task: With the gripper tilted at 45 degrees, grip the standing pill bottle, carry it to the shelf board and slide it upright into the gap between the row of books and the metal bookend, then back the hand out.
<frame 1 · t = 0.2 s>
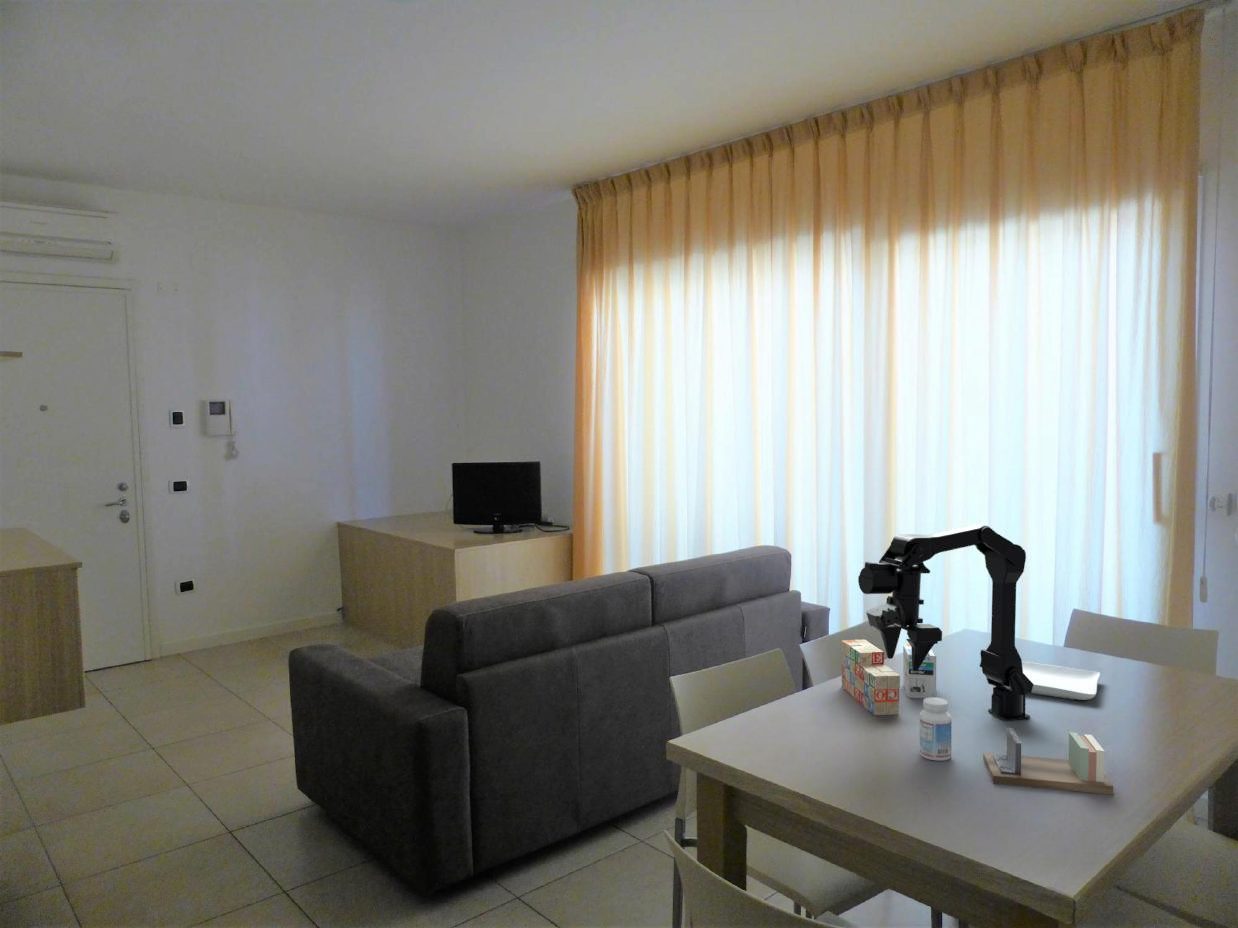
hand: (902, 664, 183), 14 cm above the table, tool pointing down, fingers open, 9 cm apart
light bulb box: (918, 692, 209), on the table
pill bottle: (935, 756, 169), on the table
shelf board: (1044, 776, 159), on the table
salad plate: (1049, 688, 212), on the table
bookend: (1006, 749, 160), on the shelf board, point 4 cm above the table
stack of blocks: (868, 701, 203), on the table
row of books: (1086, 756, 157), on the shelf board, point 4 cm above the table
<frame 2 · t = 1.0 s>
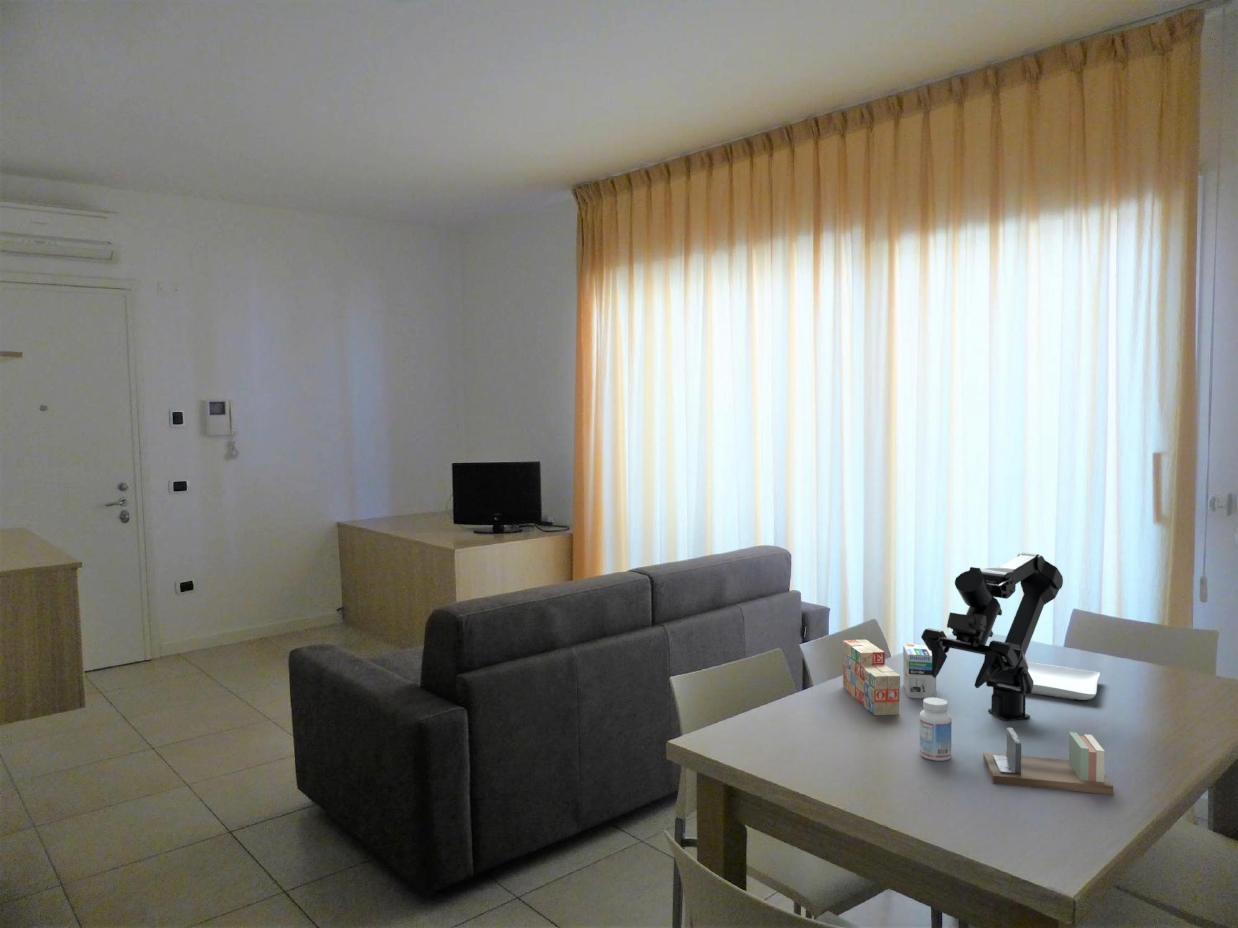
hand: (954, 681, 174), 13 cm above the table, tool tilted 45°, fingers open, 9 cm apart
nothing on the table moved.
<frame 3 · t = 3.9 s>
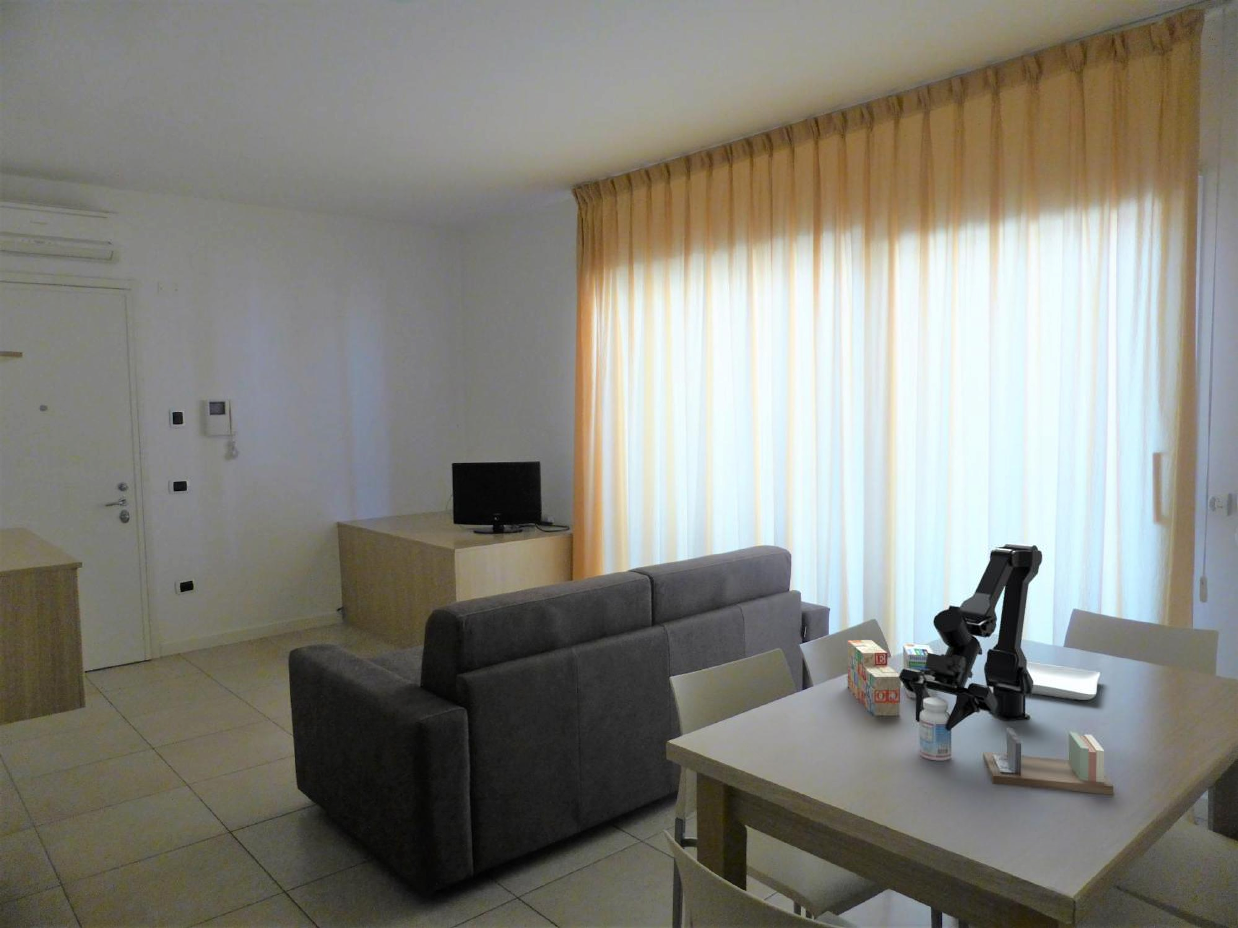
hand: (931, 725, 168), 7 cm above the table, tool tilted 45°, fingers closed on pill bottle, 6 cm apart
pill bottle: (935, 756, 169), on the table, touching gripper
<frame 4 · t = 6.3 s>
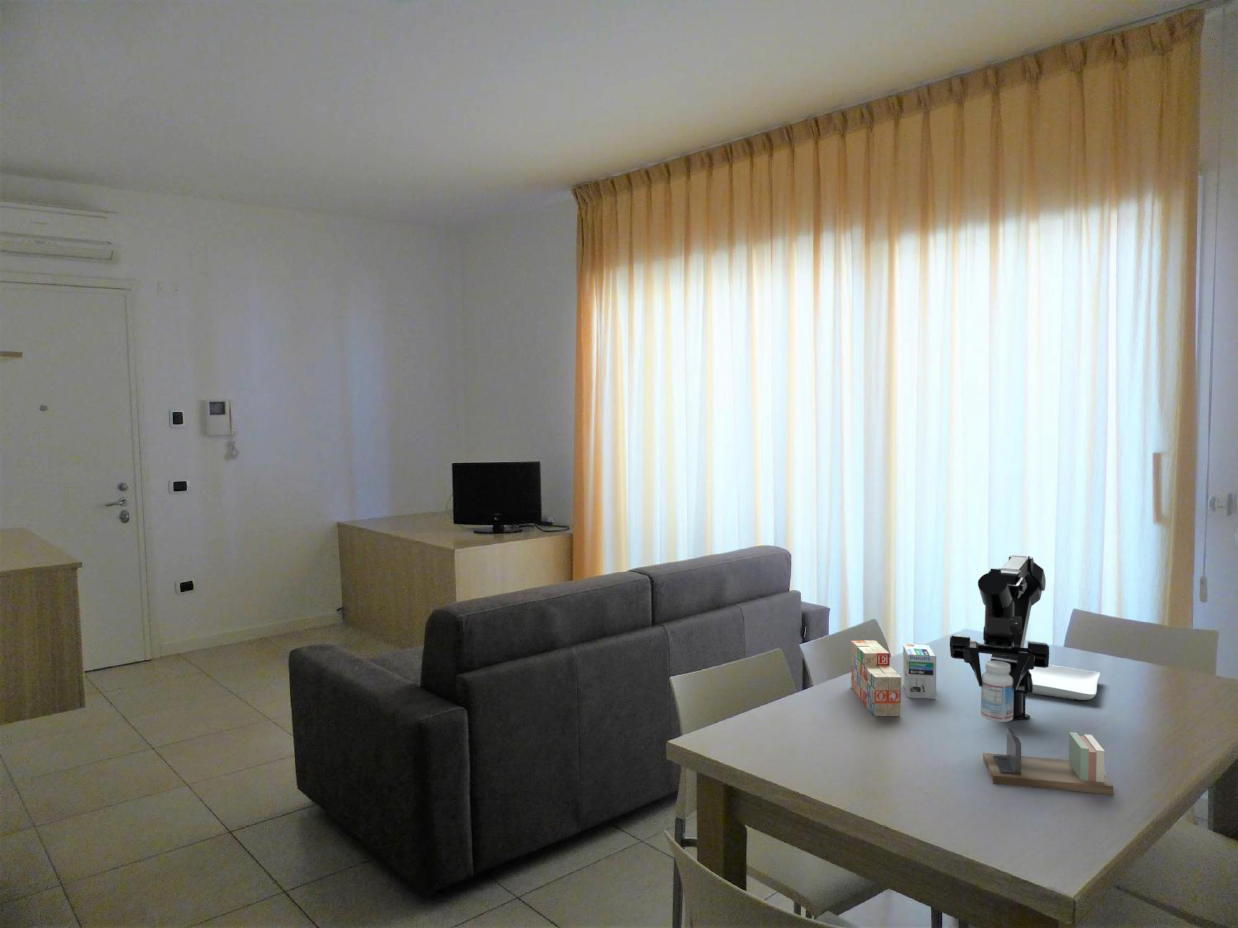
hand: (997, 687, 170), 13 cm above the table, tool tilted 45°, fingers closed on pill bottle, 6 cm apart
pill bottle: (996, 718, 172), point 6 cm above the table, touching gripper
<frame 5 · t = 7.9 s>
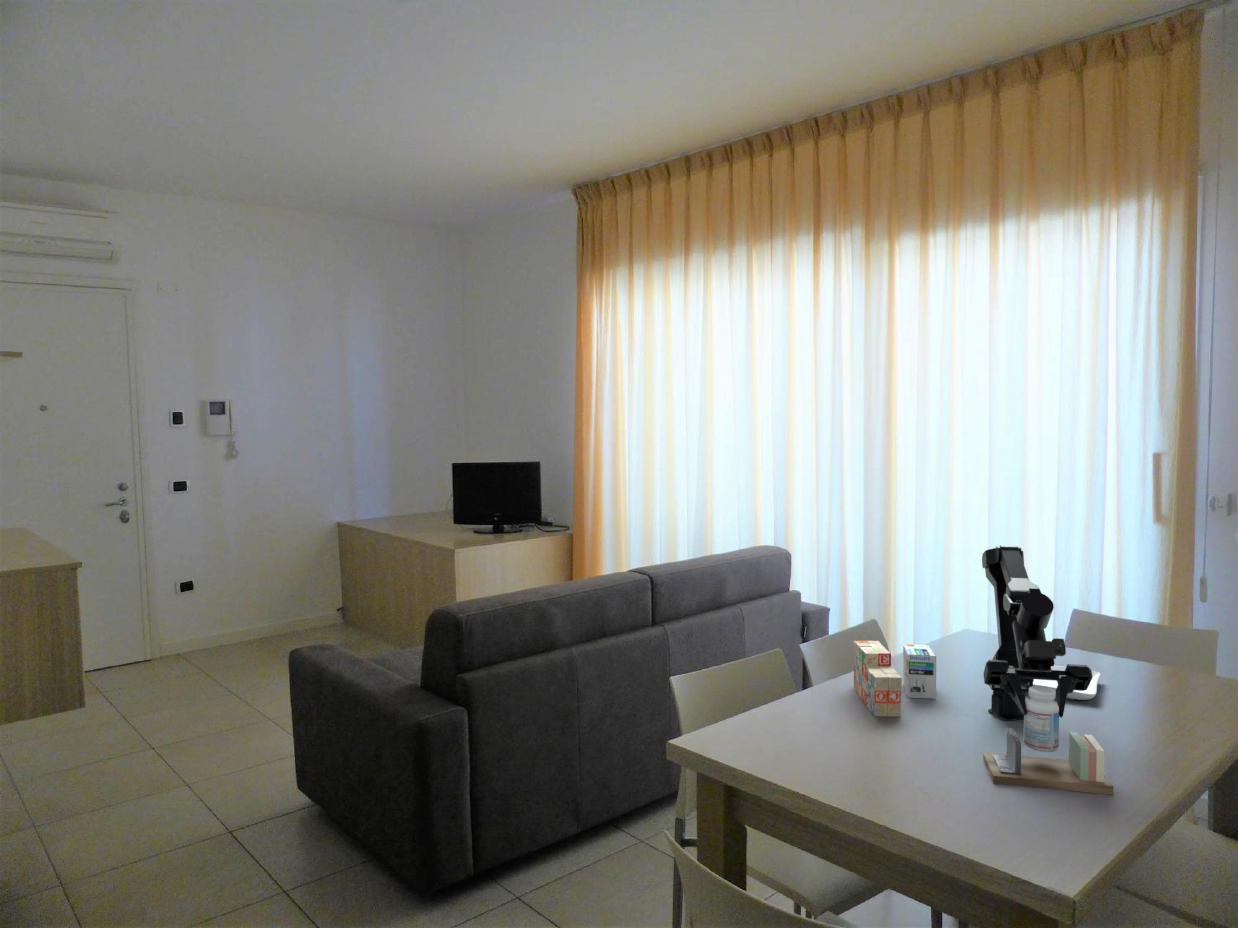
hand: (1043, 715, 160), 11 cm above the table, tool tilted 45°, fingers closed on pill bottle, 6 cm apart
pill bottle: (1040, 747, 162), point 4 cm above the table, touching gripper
when the fingers open (9 cm above the table, at t = 9.1 s): pill bottle drops 1 cm, resting on shelf board.
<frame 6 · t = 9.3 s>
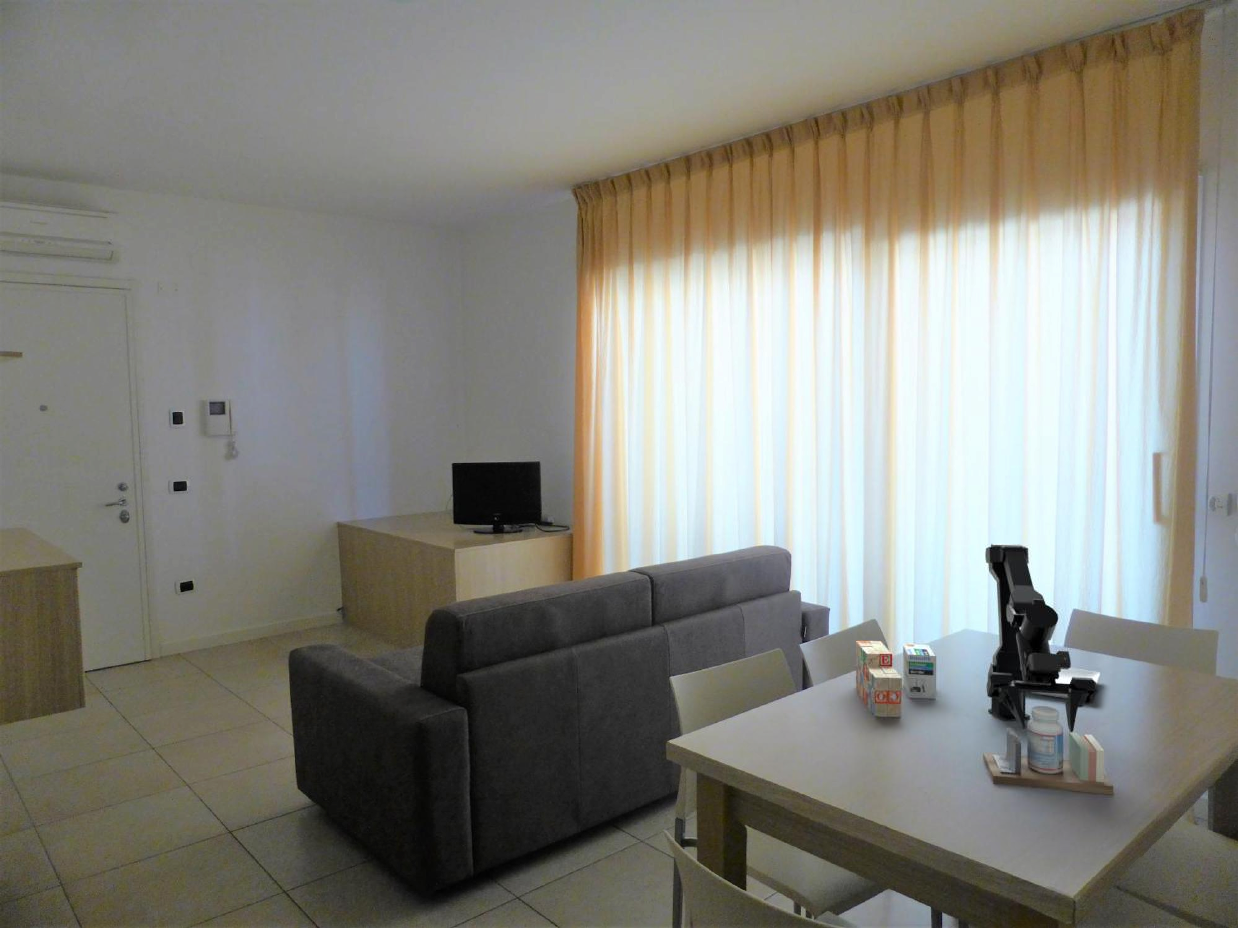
hand: (1047, 729, 157), 10 cm above the table, tool tilted 45°, fingers open, 8 cm apart
pill bottle: (1044, 769, 159), point 1 cm above the table, touching shelf board
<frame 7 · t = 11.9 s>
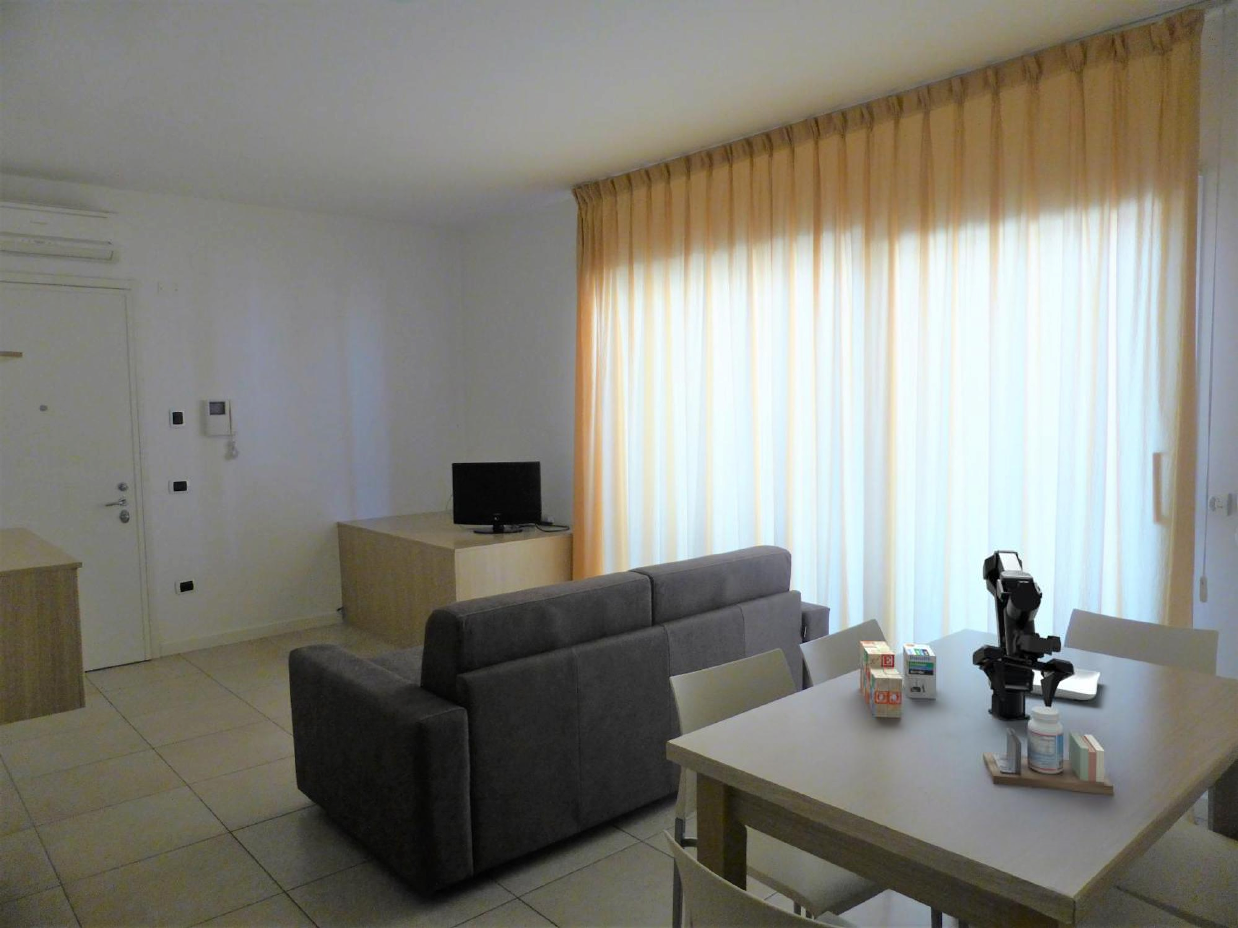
hand: (1025, 704, 168), 10 cm above the table, tool tilted 35°, fingers open, 9 cm apart
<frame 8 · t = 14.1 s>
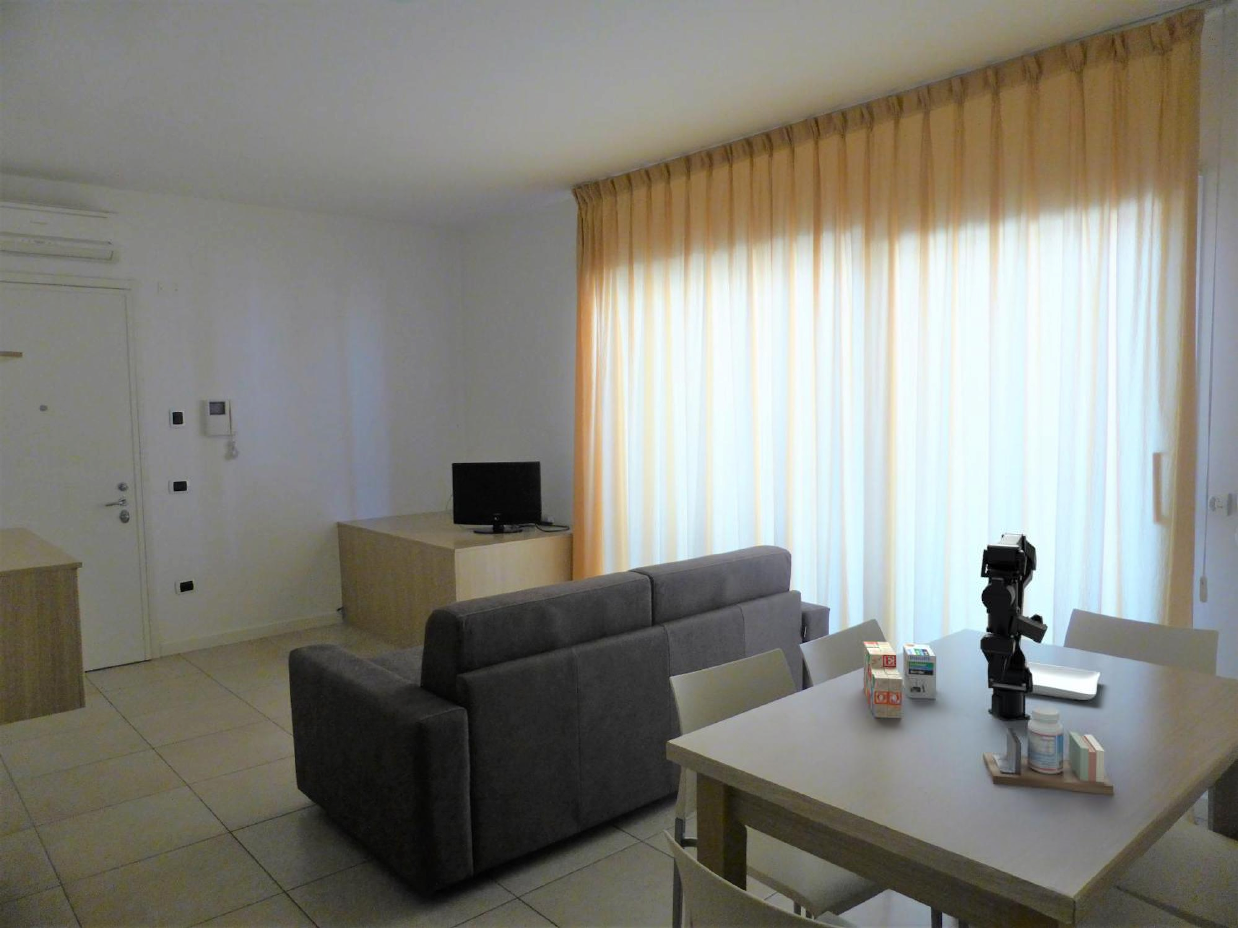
hand: (1001, 675, 179), 13 cm above the table, tool pointing down, fingers open, 9 cm apart
at the end: pill bottle 0.2 cm off-centre on the shelf board, point 1.3 cm above the shelf board's base; pill bottle tilted 0°; the gripper is holding nothing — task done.
